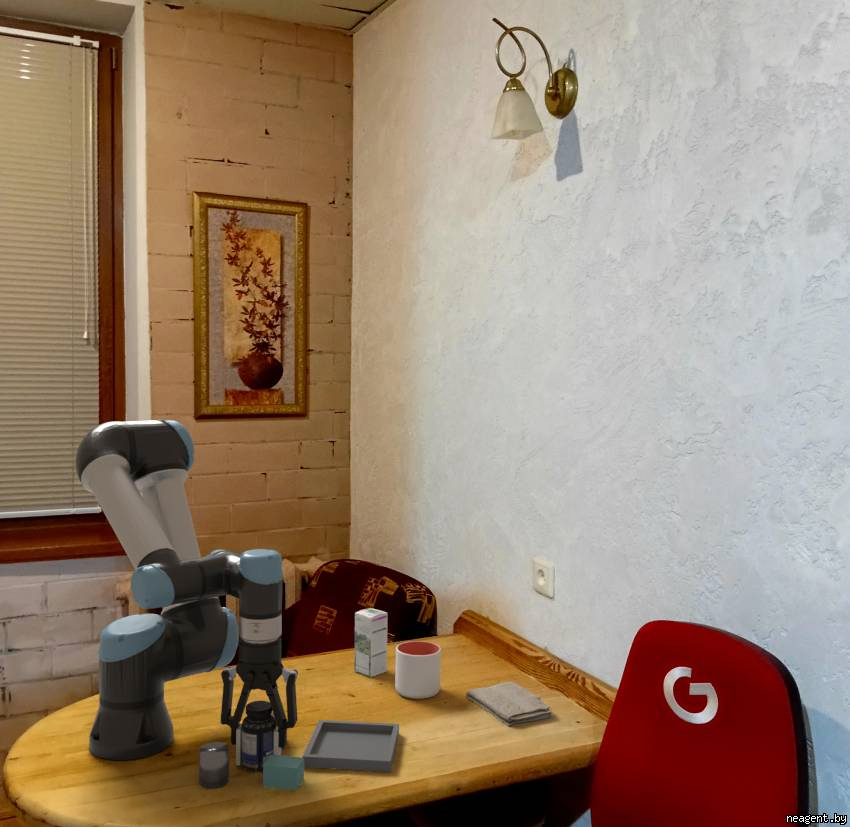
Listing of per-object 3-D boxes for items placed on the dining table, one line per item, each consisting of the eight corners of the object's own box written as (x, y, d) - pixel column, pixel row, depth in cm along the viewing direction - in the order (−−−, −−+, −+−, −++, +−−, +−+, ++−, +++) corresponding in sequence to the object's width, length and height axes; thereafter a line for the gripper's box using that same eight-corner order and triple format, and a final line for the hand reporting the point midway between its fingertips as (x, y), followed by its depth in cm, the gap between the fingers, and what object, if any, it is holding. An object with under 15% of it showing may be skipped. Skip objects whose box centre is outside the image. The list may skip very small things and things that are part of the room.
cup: (435, 703, 186) (436, 657, 186) (390, 698, 188) (391, 653, 188) (443, 686, 196) (444, 643, 195) (400, 682, 198) (401, 639, 197)
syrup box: (387, 671, 204) (389, 611, 203) (370, 678, 200) (371, 616, 199) (370, 665, 208) (371, 606, 207) (352, 672, 204) (354, 611, 203)
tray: (302, 767, 155) (302, 756, 155) (318, 729, 171) (319, 719, 171) (390, 772, 154) (390, 761, 154) (399, 733, 170) (399, 723, 170)
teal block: (263, 787, 148) (263, 764, 148) (271, 776, 152) (271, 754, 152) (296, 791, 147) (296, 768, 147) (303, 780, 151) (304, 758, 151)
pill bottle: (273, 755, 160) (273, 697, 159) (278, 770, 154) (279, 710, 153) (239, 759, 158) (240, 700, 157) (243, 774, 152) (244, 713, 151)
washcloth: (509, 730, 174) (510, 715, 174) (463, 699, 190) (463, 685, 190) (556, 720, 180) (557, 705, 180) (507, 690, 196) (508, 677, 195)
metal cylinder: (195, 788, 147) (195, 754, 147) (204, 774, 152) (204, 741, 152) (223, 789, 147) (224, 755, 146) (232, 775, 152) (232, 742, 151)
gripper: (201, 641, 151) (200, 769, 153) (308, 646, 150) (306, 775, 152) (214, 628, 159) (213, 750, 160) (316, 633, 158) (314, 756, 159)
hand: (258, 762), depth 156 cm, fingers closed on pill bottle, 6 cm apart
